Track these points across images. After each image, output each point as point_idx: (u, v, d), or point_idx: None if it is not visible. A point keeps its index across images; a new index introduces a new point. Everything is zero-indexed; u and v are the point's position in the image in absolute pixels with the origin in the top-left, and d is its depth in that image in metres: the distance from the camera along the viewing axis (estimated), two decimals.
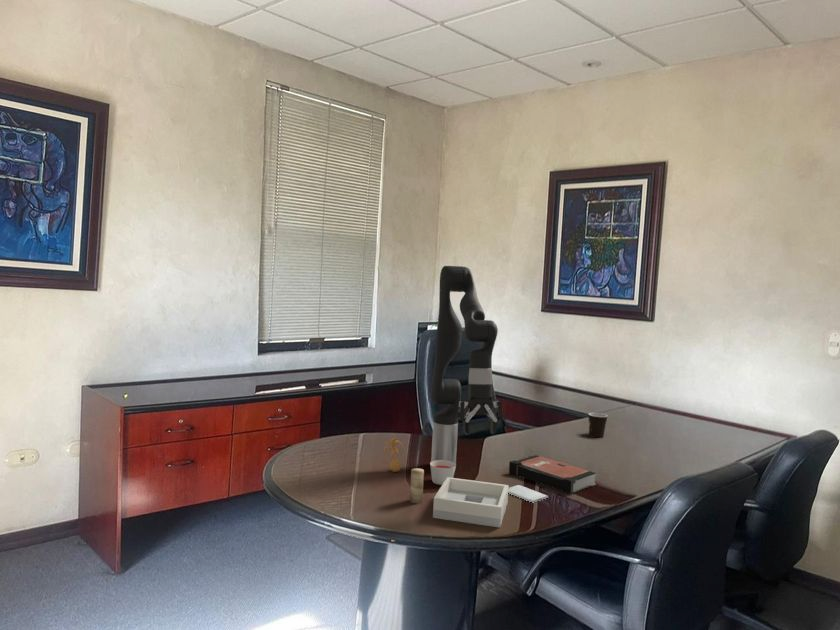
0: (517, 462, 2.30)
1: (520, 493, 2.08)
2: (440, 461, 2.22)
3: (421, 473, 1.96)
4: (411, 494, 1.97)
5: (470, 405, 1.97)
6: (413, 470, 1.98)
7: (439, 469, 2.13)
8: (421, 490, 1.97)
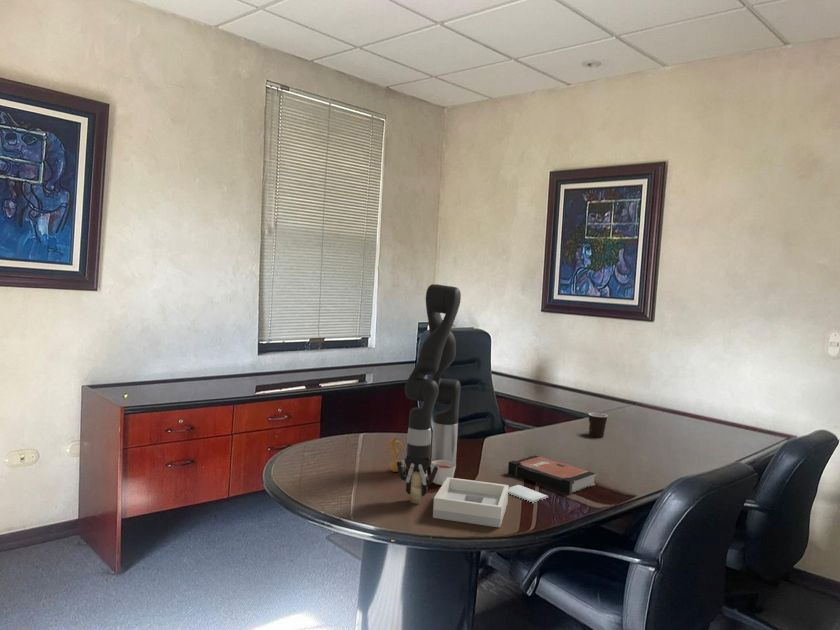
0: (516, 462, 2.30)
1: (520, 493, 2.08)
2: (440, 461, 2.22)
3: None
4: (411, 494, 1.97)
5: (406, 463, 1.97)
6: None
7: (439, 469, 2.13)
8: (421, 490, 1.97)
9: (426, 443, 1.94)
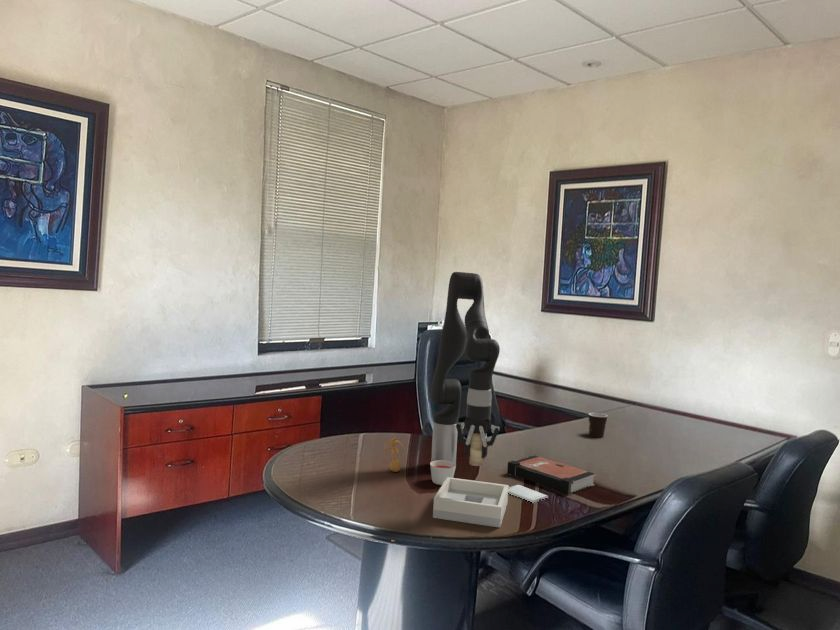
0: (515, 462, 2.29)
1: (520, 493, 2.08)
2: (440, 461, 2.22)
3: None
4: (471, 456, 1.94)
5: (466, 425, 1.94)
6: None
7: (439, 469, 2.13)
8: (481, 452, 1.94)
9: (487, 404, 1.91)
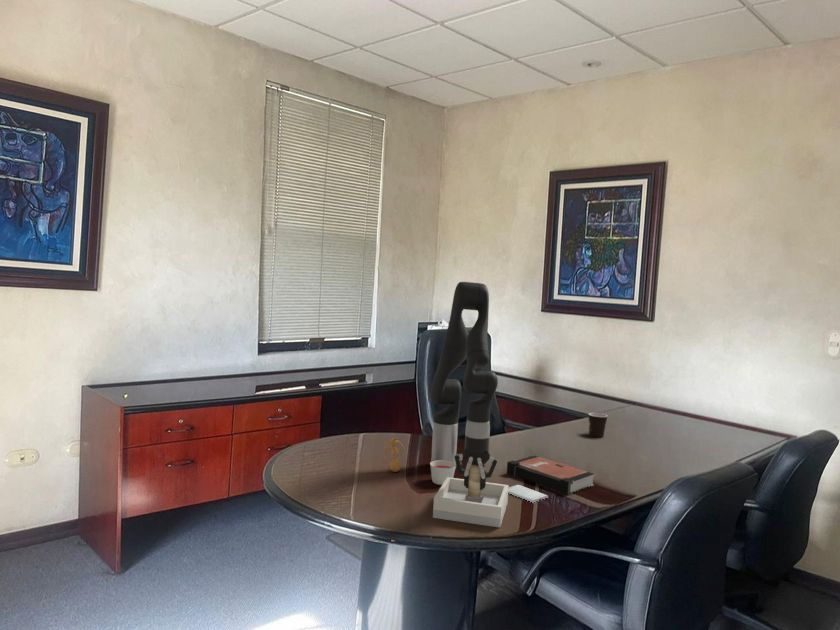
0: (515, 462, 2.29)
1: (520, 493, 2.08)
2: (440, 461, 2.22)
3: None
4: (469, 488, 1.94)
5: (464, 457, 1.95)
6: None
7: (439, 469, 2.13)
8: None
9: (485, 436, 1.92)
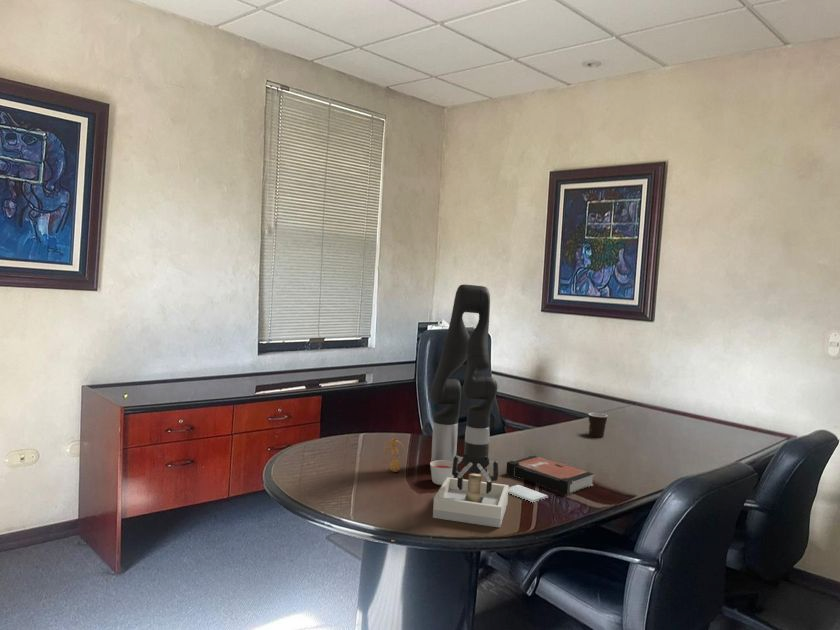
0: (514, 462, 2.29)
1: (520, 493, 2.08)
2: (440, 461, 2.22)
3: (479, 478, 1.94)
4: (468, 500, 1.95)
5: (463, 461, 1.95)
6: (470, 475, 1.95)
7: (439, 469, 2.13)
8: (479, 496, 1.95)
9: (485, 442, 1.92)
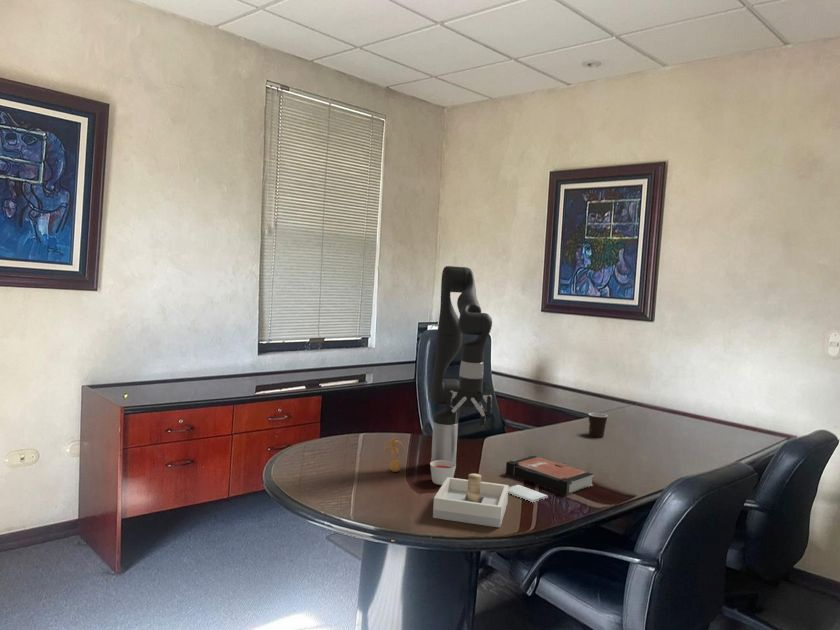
0: (514, 462, 2.29)
1: (520, 493, 2.08)
2: (440, 461, 2.22)
3: (479, 478, 1.94)
4: (468, 500, 1.95)
5: (458, 396, 1.99)
6: (470, 475, 1.95)
7: (439, 469, 2.13)
8: (479, 496, 1.95)
9: (479, 376, 1.95)
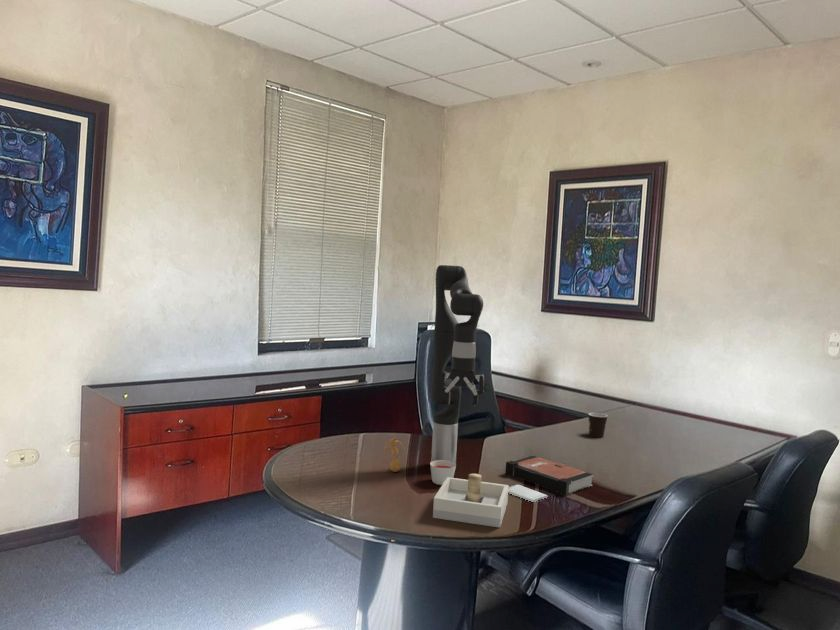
0: (514, 463, 2.29)
1: (520, 493, 2.08)
2: (440, 461, 2.22)
3: (479, 479, 1.94)
4: (469, 500, 1.95)
5: (451, 376, 2.03)
6: (470, 475, 1.95)
7: (439, 469, 2.13)
8: (479, 496, 1.95)
9: (471, 356, 1.99)
